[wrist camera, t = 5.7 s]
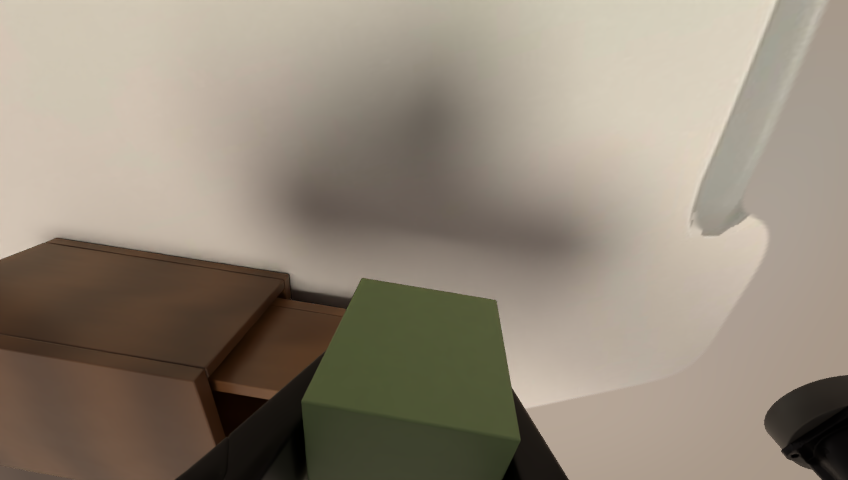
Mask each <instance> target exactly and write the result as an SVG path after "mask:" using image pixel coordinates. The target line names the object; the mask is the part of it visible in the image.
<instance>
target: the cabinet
mask: <svg viewBox="0 0 848 480" xmlns="http://www.w3.org/2000/svg"><path fill="white" fill-rule="evenodd" d="M276 298H282V299H288V300H291V291H290V282H289V274H284V273H278V272H271V271H265V270H258V269H252V268H246V267H239V266H233V265H226V264H220V263H214V262H207V261H201V260H194V259H188V258H182V257H175V256H169V255H162V254H156V253H149V252H143V251H137V250H130V249H124V248H117V247H111V246H105V245H98V244H92V243H85V242H79V241H73V240H66V239H60V238H55V239H53V240H50V241H48V242H46V243H42V244H40V245H37V246H35V247H32V248H29V249H27V250H24V251H22V252H19V253H16V254H14V255H11V256H9V257H6V258H3V259H1V260H0V466H5V467H10V468H15V469H21V470H26V471H32V472H37V473H43V474H48V475H53V476H58V477H64V478H70V479H75V480H175V479H176V478H177V477H179V476H180V475H181V474H182V473H184V472H185V471H186V470H188V469H189V468H190V467H191V466H192V465H194V464H195V463H196V462H197V461H198V460H200V459H201V458H202V457H203V456H204V455H206V454H207V453H208V452H209V451H210V450H212V449H213V448H214V447H215V446H216V445H217V444H218V443H220V442H221V441H222V440H223V439H224V438H225V434H224V431H223V427H222V424H221V421H220V418H219V414H218V411H217V408H216V405H215V401H214V398H213V395H212V391H211V388H210V385H209V382H208V377H209V376H210V375H211V374H212V373H213V372H214V371H215V369H216V368H217V367H218V366H219V365H220V364H221V362H222V361H223V360H224V359H225V358H226V356H227V355H228V354H229V353H230V352H231V351H232V349H233V348H234V347H235V346H236V345H237V343H238V342H239V341H240V340H241V339H242V338H243V336H244V335H245V334H246V333H247V332H248V331H249V329H250V328H251V327H252V326H253V325H254V323H255V322H256V321H257V320H258V319H259V318H260V316H261V315H262V314H263V313H264V312H265V311H266V309H267V308H268V307H269V306H270V305H271V303H272V302H273V301H274V300H275V299H276Z"/></svg>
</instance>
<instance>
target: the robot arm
mask: <svg viewBox="0 0 848 480" xmlns="http://www.w3.org/2000/svg"><path fill="white" fill-rule="evenodd" d="M325 352H326V351H324V352H323V353H322V354H321V355H320V356H319V357H318V358H316V359H315V360H314V361H313V362H312V363H311V364H310V365H308V366H307V367H306V368H305V369H304V370H303V371H301V372H300V373H299V374H298V375H297V376H296V377H295V378H293V379H292V380H291V381H290V382H289V383H288V384H287V385H285V386H284V387H283V388H282V389H281V390H280V391H278V392H277V393H276V394H275V395H274V396H273V397H272V398H270V399H269V400H268V401H267V402H266V403H265V404H264V405H262V406H261V407H260V408H259V409H258V410H257V411H255V412H254V413H253V414H252V415H251V416H250V417H249V418H247V419H246V420H245V421H244V422H243V423H242V424H240V425H239V426H238V427H237V428H236V429H235V430H234V431H232V432H231V433H230V434H229V437H225V438H224V439H223V440H222V441H221V442H220V443H218V444H217V445H216V446H215V447H214V448H213V449H212V450H210V451H209V452H208V453H207V454H206V455H204V456H203V457H202V458H201V459H200V460H198V461H197V462H196V463H195V464H194V465H192V466H191V467H190V468H189V469H188V470H186V471H185V472H184V473H182V474H181V475H180V476H179V477H177V478H176V479H175V480H308V474H307V462H306V451H305V439H304V428H303V416H302V404H301V401H302V399H303V397H304V394H305V392H306V390H307V388H308V386H309V384H310V382H311V380H312V378H313V376H314V374H315V372H316V370H317V368H318V366H319V364H320V362H321V360H322V358H323V356H324V354H325ZM512 393H513V399H514V405H515V410H516V416H517V422H518V427H519V433H520V439H521V440H520V443H519V445H518V447H517V449H516V452H515V454H514V456H513V458H512V460H511V462H510V464H509V466H508V469H507V471H506V473H505V475H504V477H503V479H502V480H569V479H568V478H567V476H566V475H565V473H564V471H563V470H562V468H561V466H560V465H559V463H558V462H557V460H556V458H555V457H554V455H553V454H552V452H551V451H550V449H549V447H548V445H547V444H546V442H545V441H544V439H543V437H542V436H541V434H540V432H539V431H538V429H537V428H536V426H535V424H534V423H533V421H532V420H531V418H530V416H529V415H528V413H527V411H526V410H525V408H524V407H523V405H522V403H521V402H520V400H519V398H518V397H517V395H516V394H515V392H514V390H513V389H512ZM781 452H782V453H783V454H784V455H785V457H786V458H787V459H789V460H792V461H796V462H799V463H802V464H806V465H809V466H810V467H811V468H812V470H813V471H814V472H815V473H816V474H817V475H818V476H819V477H820V478H821V479H822V480H848V406H847V407H846V408H844V409H843V410H841V411H840V412H838V413H837V414H835V415H834V416H832V417H830V418H829V419H827V420H826V421H824V422H823V423H821V424H820V425H818V426H817V427H815V428H814V429H812V430H810V431H809V432H807V433H806V434H804V435H803V436H801V437H800V438H798V439H797V440H795V441H794V442H792V443H790V444H789V445H787V446H786V447H784V448H783V449H782V451H781Z"/></svg>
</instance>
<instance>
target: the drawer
mask: <svg viewBox="0 0 848 480" xmlns="http://www.w3.org/2000/svg"><path fill="white" fill-rule="evenodd" d="M345 311H346V309H345V308H338V307H332V306H326V305H319V304H313V303H307V302H301V301H294V300H288V299H282V298H276V299H275V300H274V301H273V302H272V303H271V305H270V306H269V307H268V308H267V309H266V311H265V312H264V313H263V314H262V315H261V316H260V318H259V319H258V320H257V321H256V322H255V323H254V325H253V326H252V327H251V328H250V329H249V331H248V332H247V333H246V334H245V335H244V336H243V338H242V339H241V340H240V341H239V342H238V343H237V345H236V346H235V347H234V348H233V349H232V351H231V352H230V353H229V354H228V355H227V356H226V358H225V359H224V360H223V361H222V362H221V364H220V365H219V366H218V367H217V368H216V369H215V371H214V372H213V373H212V374H211V375H210V376H209V377H208V382H209V385H210V388H211V391H212V395H213V398H214V401H215V405H216V408H217V411H218V414H219V418H220V421H221V424H222V427H223V431H224V434H225V437H229V434H230V433H231V432H232V431H234V430H235V429H236V428H237V427H238V426H239V425H240V424H242V423H243V422H244V421H245V420H246V419H247V418H249V417H250V416H251V415H252V414H253V413H254V412H255V411H257V410H258V409H259V408H260V407H261V406H262V405H264V404H265V403H266V402H267V401H268V400H269V399H270V398H272V397H273V396H274V395H275V394H276V393H277V392H278V391H280V390H281V389H282V388H283V387H284V386H285V385H287V384H288V383H289V382H290V381H291V380H292V379H293V378H295V377H296V376H297V375H298V374H299V373H300V372H301V371H303V370H304V369H305V368H306V367H307V366H308V365H310V364H311V363H312V362H313V361H314V360H315V359H316V358H318V357H319V356H320V355H321V354H322V353H323V352H324V351H326V350H327V348H328V346H329V344H330V342H331V340H332V338H333V336H334V334H335V332H336V330H337V328H338V325H339V323H340V321H341V319H342V317H343V315H344V313H345Z"/></svg>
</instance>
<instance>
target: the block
mask: <svg viewBox="0 0 848 480" xmlns="http://www.w3.org/2000/svg"><path fill="white" fill-rule="evenodd" d="M301 404H302V416H303V428H304V439H305V451H306V462H307V474H308V480H502V479H503V477H504V475H505V473H506V471H507V469H508V466H509V464H510V462H511V460H512V458H513V456H514V454H515V452H516V449H517V447H518V445H519V443H520V440H521V439H520V433H519V427H518V422H517V416H516V410H515V405H514V399H513V393H512V387H511V382H510V376H509V370H508V365H507V359H506V353H505V347H504V342H503V336H502V330H501V324H500V319H499V313H498V307H497V302H496V300H492V299H486V298H480V297H474V296H468V295H462V294H456V293H450V292H444V291H438V290H432V289H426V288H420V287H414V286H408V285H402V284H396V283H390V282H384V281H378V280H372V279H366V278H362V279H361V281H360V283H359V285H358V287H357V289H356V291H355V293H354V295H353V297H352V299H351V301H350V303H349V305H348V307H347V309H346V311H345V313H344V315H343V317H342V319H341V321H340V323H339V325H338V328H337V330H336V332H335V334H334V336H333V338H332V340H331V342H330V344H329V346H328V348H327V350H326V352H325V354H324V356H323V358H322V360H321V362H320V364H319V366H318V368H317V370H316V372H315V374H314V376H313V378H312V380H311V382H310V384H309V386H308V388H307V390H306V392H305V394H304V397H303V399H302V401H301Z"/></svg>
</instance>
